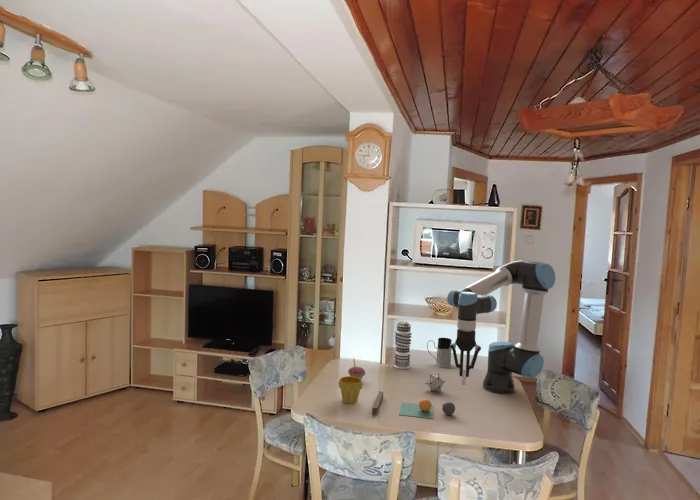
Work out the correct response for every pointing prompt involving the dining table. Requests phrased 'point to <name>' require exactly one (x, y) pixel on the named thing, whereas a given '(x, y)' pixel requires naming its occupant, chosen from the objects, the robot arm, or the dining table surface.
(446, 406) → the dark grey ball
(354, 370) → the cupcake
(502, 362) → the robot arm
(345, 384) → the plant pot
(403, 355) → the decorative candle
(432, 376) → the grey spiky polyhedron
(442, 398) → the dining table surface
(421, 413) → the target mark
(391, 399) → the dining table surface
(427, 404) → the orange ball
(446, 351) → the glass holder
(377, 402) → the walnut stopper
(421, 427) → the dining table surface
